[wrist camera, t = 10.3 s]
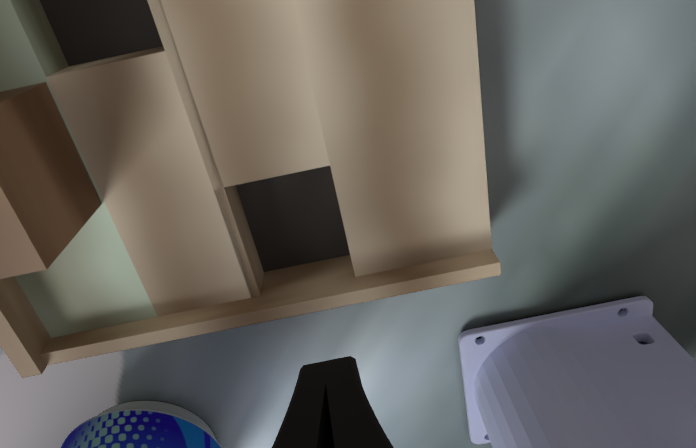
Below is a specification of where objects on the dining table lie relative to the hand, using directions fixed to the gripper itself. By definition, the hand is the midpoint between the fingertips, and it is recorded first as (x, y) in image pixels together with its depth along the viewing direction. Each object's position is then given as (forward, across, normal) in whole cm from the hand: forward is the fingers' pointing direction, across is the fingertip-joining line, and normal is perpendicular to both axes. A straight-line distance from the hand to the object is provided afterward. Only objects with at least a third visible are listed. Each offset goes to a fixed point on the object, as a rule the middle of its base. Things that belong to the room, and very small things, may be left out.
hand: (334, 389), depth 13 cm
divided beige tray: (+10, +3, -6) cm, 12 cm away
